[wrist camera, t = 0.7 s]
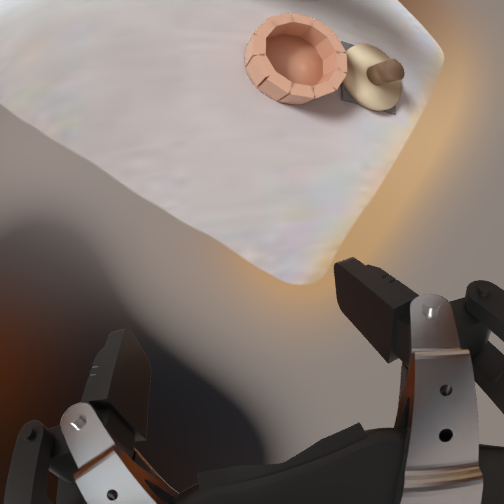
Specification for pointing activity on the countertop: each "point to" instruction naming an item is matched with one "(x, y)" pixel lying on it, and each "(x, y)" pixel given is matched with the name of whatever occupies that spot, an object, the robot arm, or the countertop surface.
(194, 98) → the countertop surface
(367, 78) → the lid
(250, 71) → the bowl
